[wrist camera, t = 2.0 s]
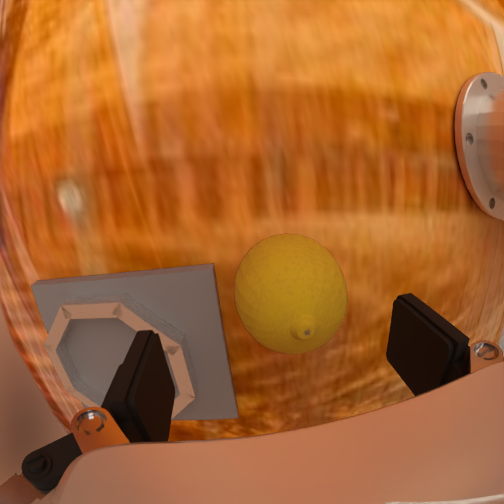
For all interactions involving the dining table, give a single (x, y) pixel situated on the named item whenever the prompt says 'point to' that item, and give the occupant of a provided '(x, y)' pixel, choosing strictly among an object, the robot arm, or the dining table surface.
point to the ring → (137, 319)
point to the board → (122, 335)
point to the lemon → (290, 294)
